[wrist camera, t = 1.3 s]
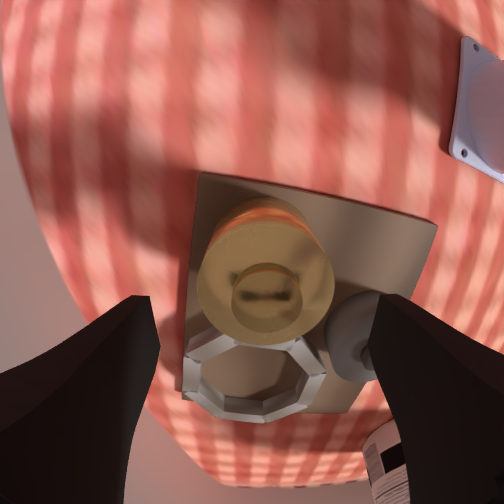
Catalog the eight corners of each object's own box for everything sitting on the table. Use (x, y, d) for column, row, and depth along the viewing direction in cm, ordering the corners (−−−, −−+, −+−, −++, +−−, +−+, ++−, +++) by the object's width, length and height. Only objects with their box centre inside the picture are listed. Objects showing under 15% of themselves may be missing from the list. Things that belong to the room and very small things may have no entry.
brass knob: (323, 207, 14) (359, 249, 9) (299, 296, 16) (315, 363, 11) (219, 188, 13) (200, 221, 9) (206, 281, 15) (188, 348, 11)
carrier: (433, 222, 15) (468, 246, 11) (344, 407, 21) (353, 442, 17) (202, 172, 14) (185, 186, 10) (183, 393, 20) (174, 431, 17)
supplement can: (438, 397, 21) (491, 519, 8) (423, 436, 24) (458, 535, 11) (362, 424, 22) (396, 564, 8) (359, 457, 25) (381, 566, 12)
